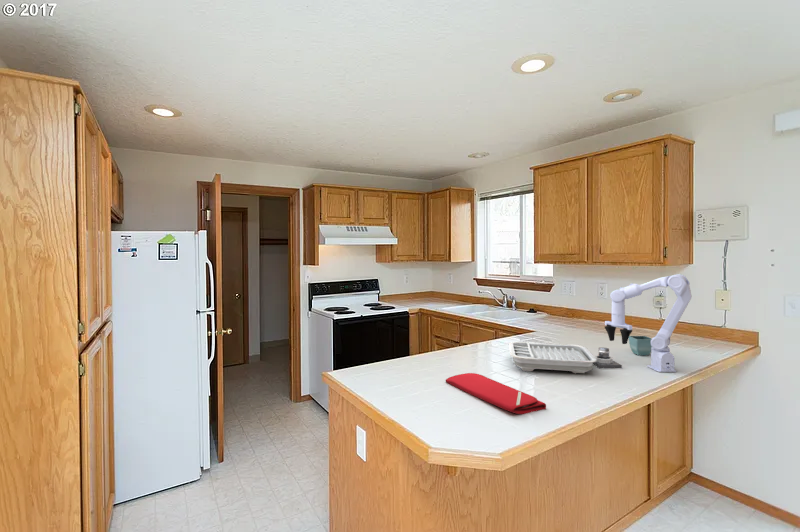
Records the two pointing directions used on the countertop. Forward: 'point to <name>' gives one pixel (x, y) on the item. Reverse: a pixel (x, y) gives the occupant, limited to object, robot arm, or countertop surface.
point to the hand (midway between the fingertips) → (618, 342)
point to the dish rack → (551, 356)
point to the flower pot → (640, 345)
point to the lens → (603, 353)
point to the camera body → (606, 363)
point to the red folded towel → (496, 393)
